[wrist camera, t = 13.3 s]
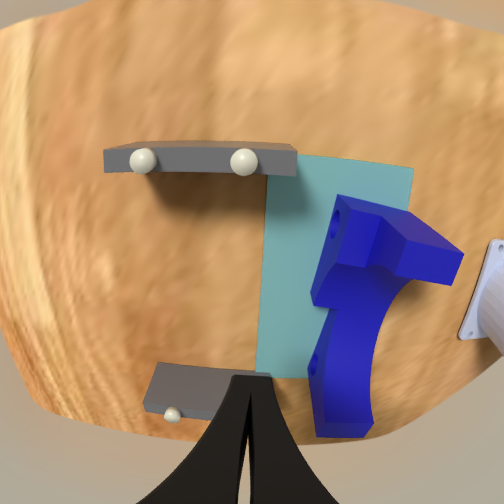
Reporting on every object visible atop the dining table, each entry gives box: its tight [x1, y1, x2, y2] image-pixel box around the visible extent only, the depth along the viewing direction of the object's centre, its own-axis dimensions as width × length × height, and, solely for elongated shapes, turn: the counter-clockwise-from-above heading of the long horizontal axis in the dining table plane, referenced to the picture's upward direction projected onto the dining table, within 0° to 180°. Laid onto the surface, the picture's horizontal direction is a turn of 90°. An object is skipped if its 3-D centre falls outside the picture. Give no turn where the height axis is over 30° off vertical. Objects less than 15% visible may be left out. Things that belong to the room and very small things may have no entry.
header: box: [103, 141, 297, 423], centre depth 17 cm, size 8×16×5 cm, turn 178°
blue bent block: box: [307, 194, 464, 438], centre depth 16 cm, size 12×4×6 cm, turn 170°
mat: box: [255, 154, 414, 378], centre depth 19 cm, size 8×15×1 cm, turn 178°
